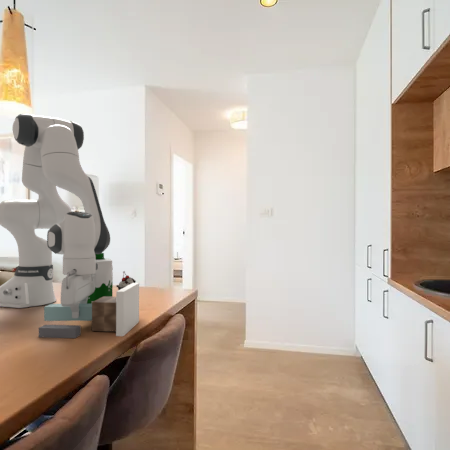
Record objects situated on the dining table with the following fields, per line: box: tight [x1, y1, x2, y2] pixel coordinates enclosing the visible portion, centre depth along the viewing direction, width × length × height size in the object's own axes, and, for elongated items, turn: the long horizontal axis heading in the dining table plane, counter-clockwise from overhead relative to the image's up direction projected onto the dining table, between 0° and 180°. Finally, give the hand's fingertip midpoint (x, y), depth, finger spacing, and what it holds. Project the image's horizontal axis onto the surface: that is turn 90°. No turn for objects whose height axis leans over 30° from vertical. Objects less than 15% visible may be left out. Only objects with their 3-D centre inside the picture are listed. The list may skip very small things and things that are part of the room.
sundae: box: [115, 270, 137, 291], centre depth 115 cm, size 7×7×15 cm
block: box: [91, 296, 116, 332], centre depth 102 cm, size 8×8×8 cm
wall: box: [115, 282, 140, 337], centre depth 102 cm, size 2×14×12 cm, turn 177°
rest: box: [38, 324, 82, 339], centre depth 95 cm, size 10×3×2 cm, turn 87°
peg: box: [43, 303, 92, 322], centre depth 103 cm, size 18×4×4 cm, turn 91°
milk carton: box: [87, 252, 114, 304], centre depth 120 cm, size 9×9×20 cm
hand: (79, 315), depth 103 cm, fingers closed on peg, 4 cm apart
